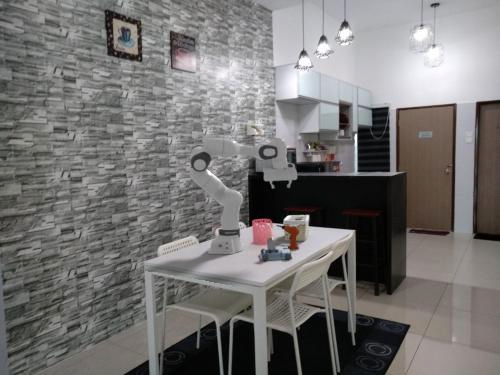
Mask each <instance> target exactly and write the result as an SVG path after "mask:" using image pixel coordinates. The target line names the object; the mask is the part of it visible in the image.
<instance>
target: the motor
mask: <svg viewBox="0 0 500 375" xmlns="http://www.w3.org/2000/svg"><path fill="white" fill-rule="evenodd" d="M266 245H267V246H266V250H268V253H276V249H277V248H276V238H275V237H274V236H268V237H267V238H266Z"/></svg>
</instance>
